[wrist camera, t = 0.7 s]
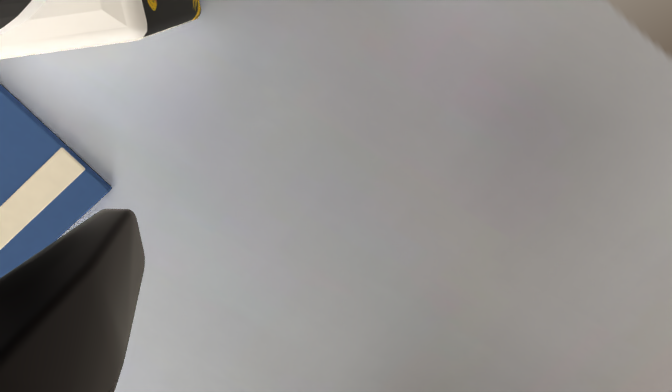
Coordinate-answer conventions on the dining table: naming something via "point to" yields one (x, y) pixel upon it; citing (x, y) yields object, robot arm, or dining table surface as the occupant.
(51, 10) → the medicine bottle
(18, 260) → the cloth
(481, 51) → the dining table surface
